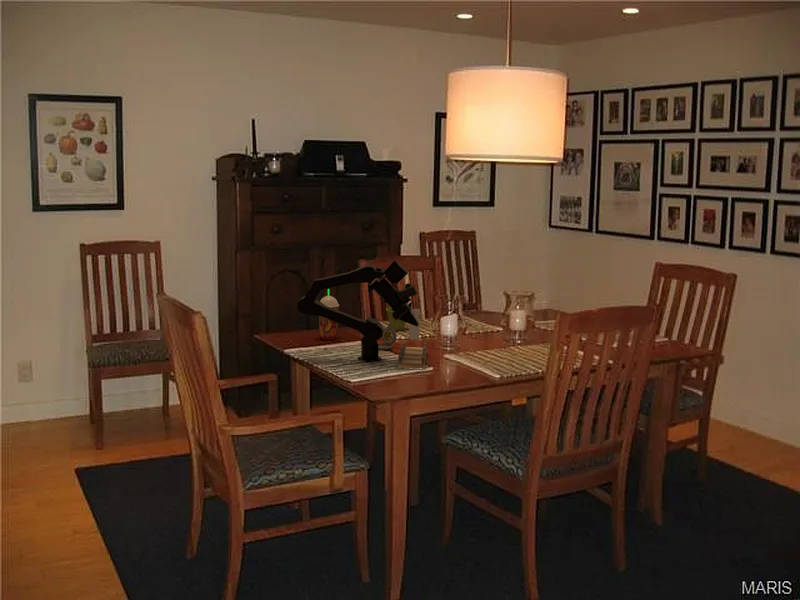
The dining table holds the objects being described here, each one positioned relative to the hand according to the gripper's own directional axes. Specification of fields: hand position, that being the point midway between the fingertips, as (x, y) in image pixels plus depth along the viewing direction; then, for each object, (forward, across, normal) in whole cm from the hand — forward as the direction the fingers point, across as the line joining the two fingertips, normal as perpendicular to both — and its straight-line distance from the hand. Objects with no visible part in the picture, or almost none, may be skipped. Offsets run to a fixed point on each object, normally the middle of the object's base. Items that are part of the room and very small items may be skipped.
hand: (418, 324), depth 306 cm
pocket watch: (+1, +18, +19) cm, 26 cm away
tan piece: (+8, 0, +11) cm, 14 cm away
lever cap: (+3, 0, +5) cm, 5 cm away
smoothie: (-16, +31, +36) cm, 50 cm away
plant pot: (+2, +51, +17) cm, 54 cm away
